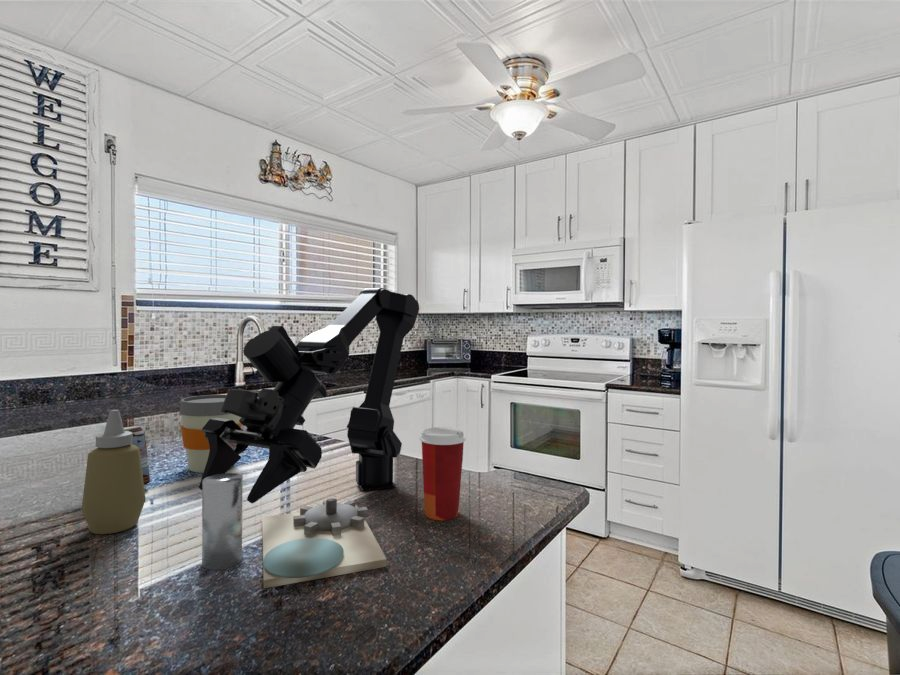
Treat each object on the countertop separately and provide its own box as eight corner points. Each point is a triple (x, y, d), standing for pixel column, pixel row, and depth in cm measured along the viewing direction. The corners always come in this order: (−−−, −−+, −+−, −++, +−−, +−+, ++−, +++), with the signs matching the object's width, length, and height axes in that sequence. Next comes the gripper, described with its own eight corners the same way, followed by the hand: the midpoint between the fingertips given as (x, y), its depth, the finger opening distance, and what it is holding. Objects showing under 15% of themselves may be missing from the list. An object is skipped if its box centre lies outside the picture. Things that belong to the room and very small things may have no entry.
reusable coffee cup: (254, 464, 107) (255, 397, 106) (200, 479, 96) (200, 405, 96) (222, 455, 114) (222, 392, 113) (167, 468, 103) (167, 399, 103)
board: (359, 509, 82) (360, 484, 82) (393, 569, 62) (393, 537, 62) (262, 521, 76) (262, 495, 76) (263, 592, 56) (264, 557, 56)
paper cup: (469, 509, 83) (471, 428, 82) (456, 526, 75) (457, 438, 75) (428, 502, 85) (429, 425, 85) (410, 519, 78) (411, 433, 78)
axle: (242, 550, 66) (243, 471, 66) (241, 566, 62) (242, 482, 62) (203, 555, 64) (204, 475, 64) (200, 572, 60) (200, 486, 60)
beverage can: (130, 498, 85) (130, 431, 85) (96, 494, 87) (96, 429, 86) (158, 486, 91) (159, 424, 91) (126, 483, 93) (126, 422, 92)
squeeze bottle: (103, 517, 77) (103, 405, 76) (156, 516, 77) (156, 405, 77) (67, 539, 69) (67, 415, 68) (126, 538, 69) (126, 415, 69)
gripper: (213, 364, 72) (138, 453, 62) (309, 371, 64) (239, 475, 54) (255, 409, 79) (193, 495, 69) (345, 420, 71) (289, 519, 61)
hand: (224, 495), depth 63 cm, fingers open, 9 cm apart
